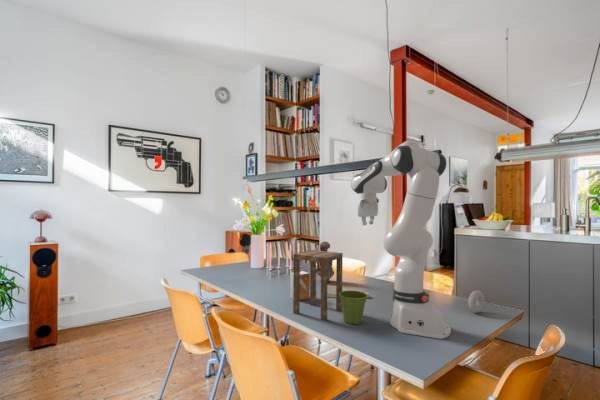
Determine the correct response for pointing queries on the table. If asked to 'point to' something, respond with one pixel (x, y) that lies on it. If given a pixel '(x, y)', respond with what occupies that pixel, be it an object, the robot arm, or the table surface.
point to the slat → (333, 294)
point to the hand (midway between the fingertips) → (367, 224)
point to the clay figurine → (324, 247)
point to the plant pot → (353, 306)
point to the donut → (476, 301)
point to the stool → (313, 258)
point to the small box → (301, 285)
